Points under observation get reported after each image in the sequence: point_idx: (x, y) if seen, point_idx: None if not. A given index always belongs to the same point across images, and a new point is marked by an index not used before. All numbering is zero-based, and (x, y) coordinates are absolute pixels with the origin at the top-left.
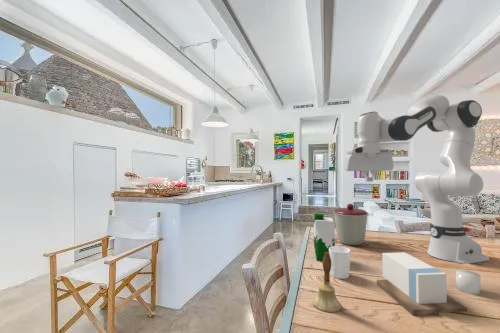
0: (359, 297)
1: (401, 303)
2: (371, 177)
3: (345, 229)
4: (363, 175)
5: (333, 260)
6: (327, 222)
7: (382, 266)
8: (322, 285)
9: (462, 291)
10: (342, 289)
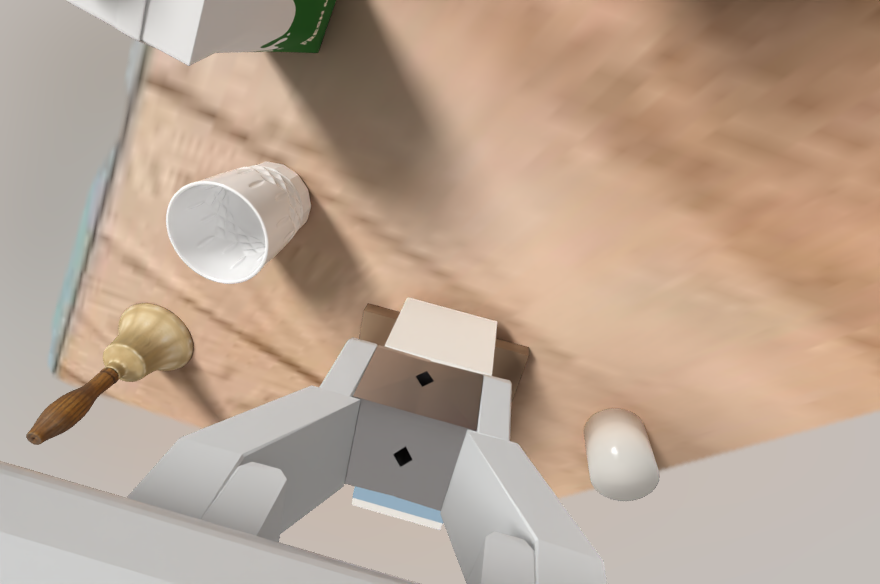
0: (262, 342)
1: None
2: (430, 506)
3: None
4: (253, 420)
5: (201, 233)
6: (144, 43)
7: (399, 315)
8: (107, 362)
9: (584, 435)
10: (234, 290)
